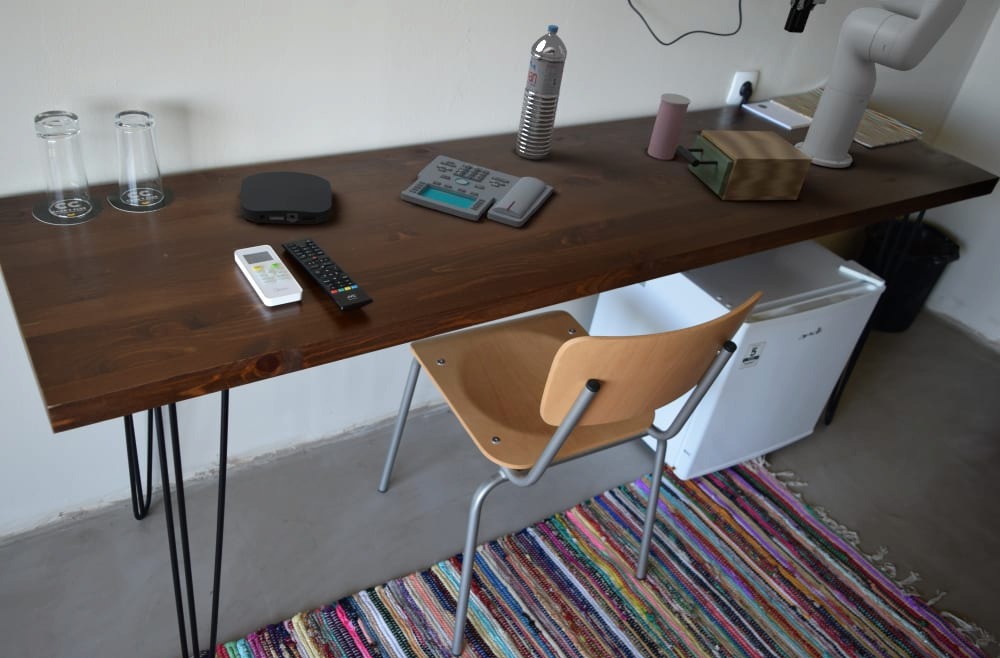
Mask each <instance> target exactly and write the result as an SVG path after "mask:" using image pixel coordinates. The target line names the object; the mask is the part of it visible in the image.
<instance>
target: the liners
mask: <svg viewBox="0 0 1000 658" xmlns="http://www.w3.org/2000/svg"><path fill="white" fill-rule="evenodd" d="M690 104H691V100H690V99H689V98H688V97H686V96H684V95H681V94H676V93H662V94H661V95H660V103H659V108H658V111H657V113H656V114H657V115H656V118H655V121H654V126H653V129H652V134H651V137H650V141H649V145H648V149H647V154H648V155H649V156H651V157H653V158H655V159H658V160H662V161H663V160H664V161H668V160H673V159H674V157H675V154H676V148H677V147H678V143H679V139H680V137H681V132H682V129H683V125H684V122H685V118H686V115H687V112H688V107H689V105H690Z"/></svg>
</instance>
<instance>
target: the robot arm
mask: <svg viewBox="0 0 1000 658" xmlns="http://www.w3.org/2000/svg"><path fill="white" fill-rule="evenodd" d="M826 2H827V0H790V1H789V7H790V9H789V13H788V14H787V15H788V16H787V18H786V21H785V23H784V26H783V30H784V31H787V32H788V33H791V34H792V33H793V34H794V33H795V34H803V32H804V31H805V28H806V26H807V23H808V19H809V17H810V14H811V12H813V11H814V10H815V8H816V6H817V5H825V4H826ZM878 3H879V5H880V6H881V7H882V8H883V9H882V8H879V7H874V6H863V7H860V8H856V9H855V10H853V11H851V13H849V14H848V15H847V16H846V18H845V19H844V21H843V23H842V26H841V28H840V32H839V37H838V43H837V46H836V47H837V48H836V53H835V57H834V60H833V63H832V66H831V69H830V72H829V75H828V77H827V80H826V83H825V85H824V88H823V90H822V92H821V96H820V98H819V101H818V104H817V106H816V109H815V112H814V114H813V117H812V120H811V122H810V124H809V128H808V130H807V132H806V133H807V134H806V135H805V138H804V141H799V142H797V143H795V145H794V147H796V148H797V149H799V150H800V151H802V152H803V153H804V154H806V155H807V156H809V157H810V158H811V159H812V161H811V164H813V165H817V166H821V167H825V168H831V169H844V168H847V167H850V166H851V164H852V162H853V157H852V155H850V153H848V152H849V150H850V147H851V145H852V143H853V142H854V139H855V135H856V134H857V131H858V129H859V126H860V124H861V121H862V119H863V117H864V114H865V111H866V109H867V106H868V104H869V102H870V100H871V97H872V95H873V93H874V91H875V88H876V87H875V86H876V85H877V84H876V83H877V68H876V64H878V65H880V66H883V67H886V68H889V69H893V70H895V71H899V72H908V71H911V70H913V69H916V67H918V66H919V65H920V64H921V63H922V61H924V60H925V58H926V57H927V56H928V54H929V53H930V52H931V50H933V48H934V47H935V46H936V45H937V43H938V42H939V41H940V39H941V38H942V37H943V36H944V35H945V34H946V32H947V31H948V30H949V29H950V27H951V26H952V25H953V23H954V22H955V21H956V20H957V18H958V17H959V15H960V14H961V12H962V10H963V8H964V7H965V5H966V3H967V0H878Z"/></svg>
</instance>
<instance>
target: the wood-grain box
mask: <svg viewBox="0 0 1000 658" xmlns="http://www.w3.org/2000/svg"><path fill="white" fill-rule="evenodd" d="M700 136H703V137H704V138H706V139H707V140H708V141H711V142H712V143H713V144H714V145H715V146H717V147H718V148H719V149H720V150H722V151H723V152H724V153H725V154H726V155H728V156H729V157H730V158H731V159H733V160H734V163H733V166H732V169H731V172H730V175H729V178H728V181H727V184H726V187H725V190H724V193H723V195H718V194H716V195H717V196H718V197H719V198H720V199H721V200H722V201H797V200H798V197H799V195H800V192H801V189H802V187H803V184H804V182H805V179H806V176H807V174H808V172H809V169H810V166H811V164H812V163H811V161H812V159H811V158H810V157H809V156H807V155H806V154H804V153H803V152H802V151H800V150H799V149H797V148H796V147H795V145H793V144H792V143H791V142H789V141H787V140H786V139H785V138H784V137H782V136H781V135H780V134H778V133H776V132H775V131H774V130H773V131H771V130H770V131H767V130H764V131H763V130H719V129H718V130H717V129H716V130H715V129H714V130H713V129H708V130H707V129H705V130H704V129H703V130H701V133H700ZM693 174H694V175H695V176H696V177H697V178H699V177H698V176H697V175H696V174H695V173H693ZM699 179H700V178H699ZM704 184H705V185H706V186H707V187H708V188H710V187H709V186H708V185H707V184H706V183H704ZM710 190H712V189H711V188H710Z"/></svg>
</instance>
